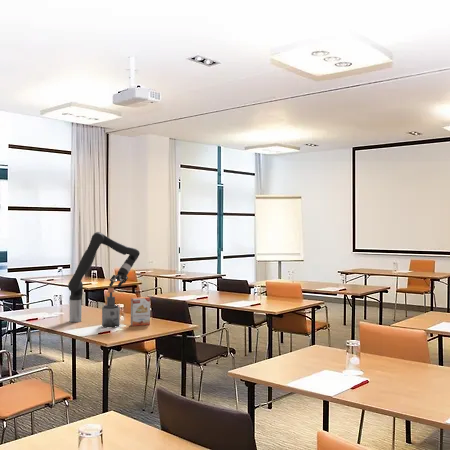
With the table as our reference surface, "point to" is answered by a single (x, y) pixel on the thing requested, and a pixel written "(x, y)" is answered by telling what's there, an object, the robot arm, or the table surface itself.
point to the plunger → (110, 291)
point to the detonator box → (110, 313)
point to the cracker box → (140, 311)
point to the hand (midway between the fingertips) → (114, 286)
